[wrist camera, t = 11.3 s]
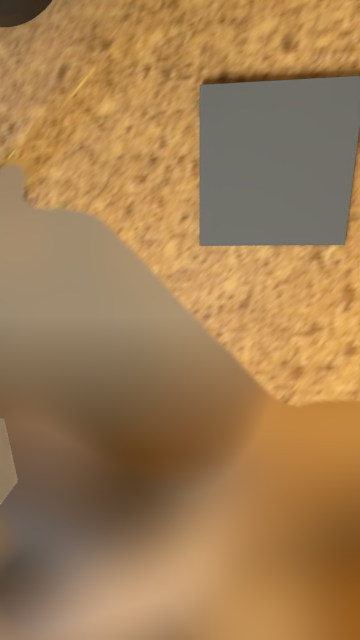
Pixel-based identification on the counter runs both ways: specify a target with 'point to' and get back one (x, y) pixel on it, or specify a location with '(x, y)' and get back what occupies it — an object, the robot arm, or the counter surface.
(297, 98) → the mat
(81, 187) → the counter surface
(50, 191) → the counter surface
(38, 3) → the robot arm
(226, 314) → the counter surface
